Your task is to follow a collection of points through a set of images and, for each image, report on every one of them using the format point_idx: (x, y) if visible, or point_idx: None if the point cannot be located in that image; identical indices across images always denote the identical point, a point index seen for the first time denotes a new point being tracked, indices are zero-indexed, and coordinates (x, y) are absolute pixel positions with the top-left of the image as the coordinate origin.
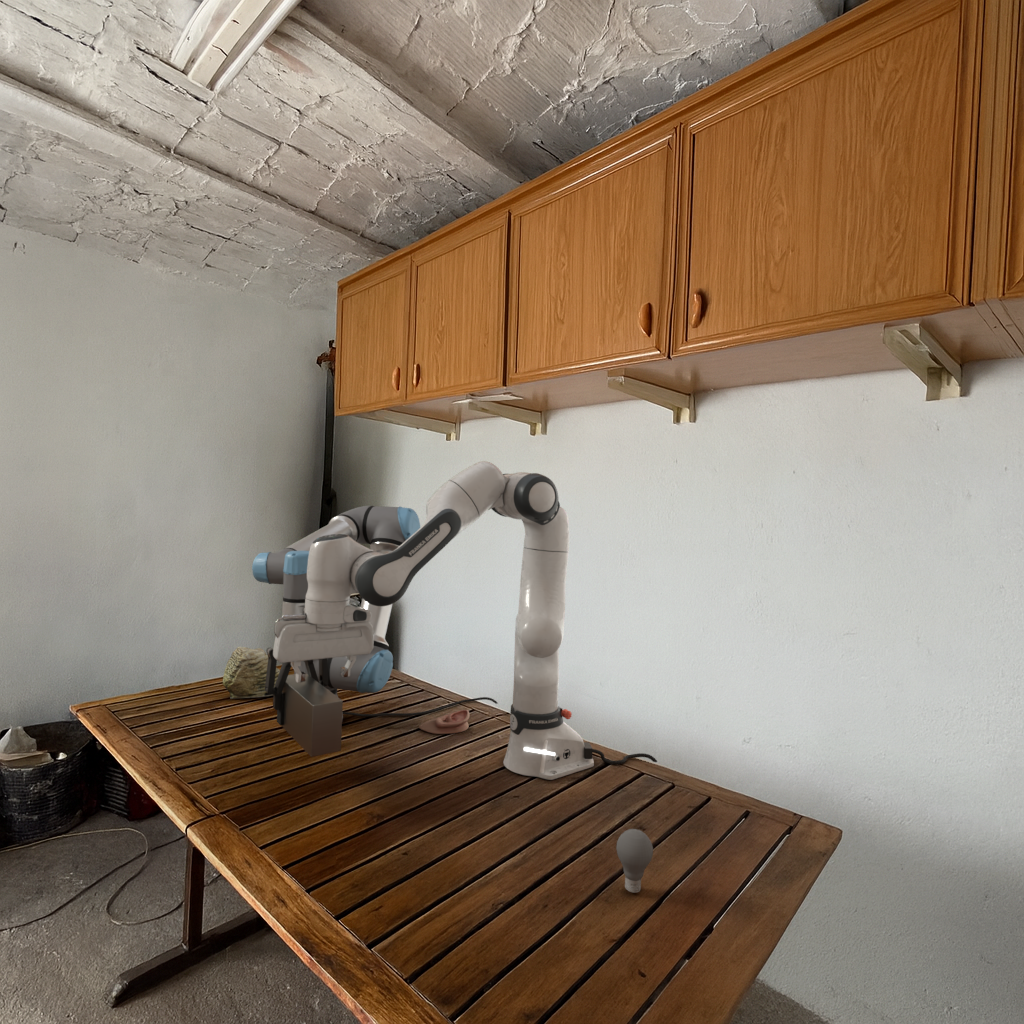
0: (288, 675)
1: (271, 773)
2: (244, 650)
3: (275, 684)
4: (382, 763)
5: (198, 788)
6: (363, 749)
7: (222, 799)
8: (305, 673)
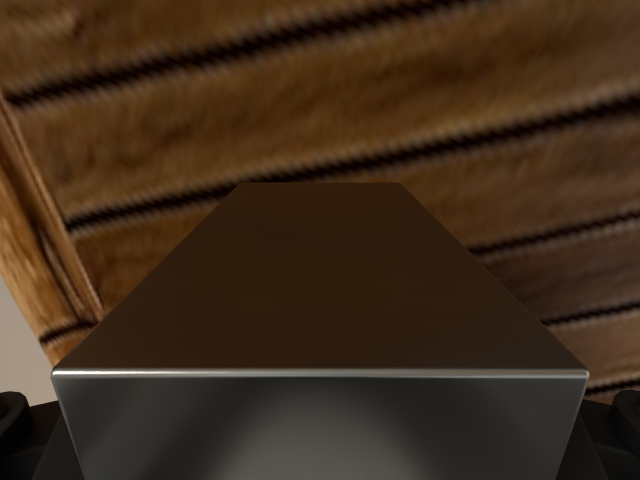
0: (233, 407)
1: (260, 161)
2: None
3: (46, 464)
4: (574, 260)
5: (42, 156)
6: (604, 123)
7: (111, 258)
8: (561, 414)
